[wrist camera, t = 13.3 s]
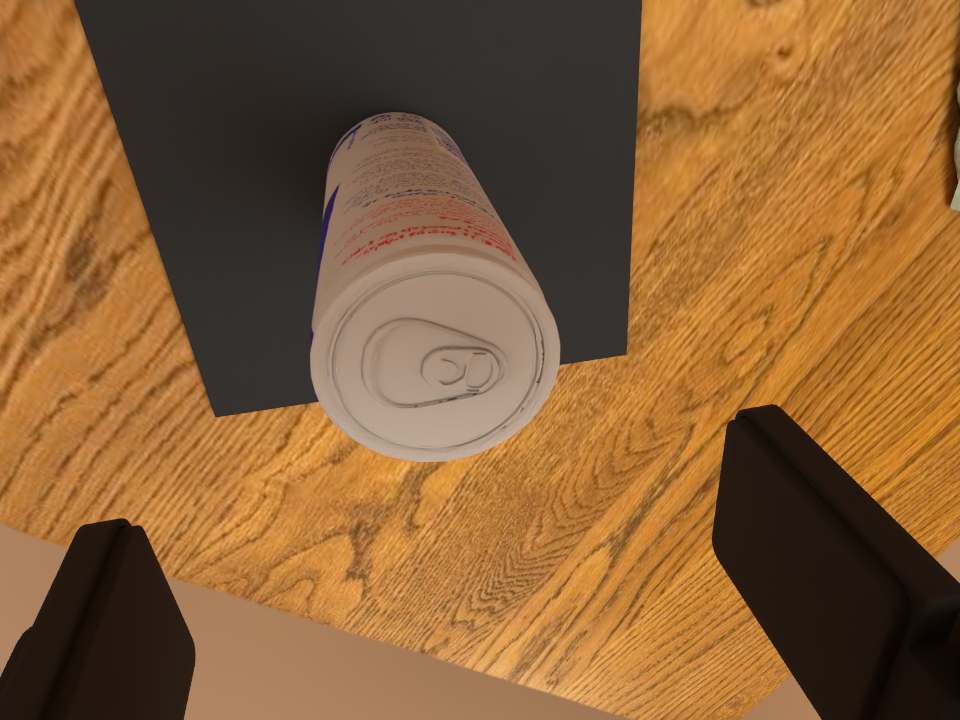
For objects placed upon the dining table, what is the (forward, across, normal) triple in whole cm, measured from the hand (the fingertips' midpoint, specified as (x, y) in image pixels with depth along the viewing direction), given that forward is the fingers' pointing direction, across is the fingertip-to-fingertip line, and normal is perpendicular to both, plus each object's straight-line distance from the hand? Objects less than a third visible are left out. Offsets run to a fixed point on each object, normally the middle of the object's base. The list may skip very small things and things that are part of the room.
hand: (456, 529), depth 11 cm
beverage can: (+20, -1, 0) cm, 20 cm away
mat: (+20, -1, 0) cm, 20 cm away
